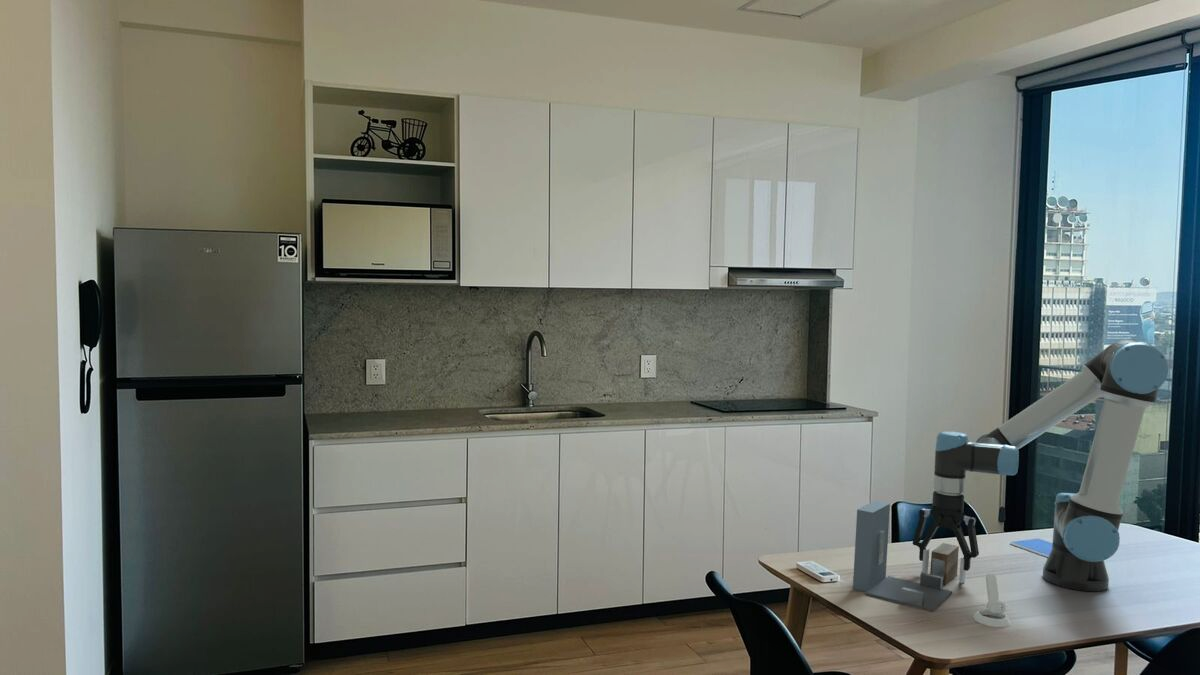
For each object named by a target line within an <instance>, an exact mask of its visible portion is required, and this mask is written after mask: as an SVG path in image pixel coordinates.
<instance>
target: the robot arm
mask: <svg viewBox="0 0 1200 675" xmlns="http://www.w3.org/2000/svg"><path fill="white" fill-rule="evenodd" d="M1081 368H1082V369H1081V371H1079V372H1078V373H1077V374H1075V375H1073V376H1072V377H1071V378H1069V379H1068V380H1066V381H1065V382H1064V383H1062V384H1061V385H1058V386H1057V387H1056V388H1054V389H1053V390H1051V391H1049V393H1047V394H1045V395H1044V396H1042V397H1041V398H1040V399H1038V400H1036V401H1035V402H1033V403H1032V404H1030V405H1029V406H1027V407H1026V408H1025V409H1022V411H1020V412H1019V413H1017V414H1016V415H1014V416H1013V417H1011V418H1010V419H1008V420H1007V421H1005V422H1004V423H1002V424H1001V425H1000V426H998V427H996V428H995V429H993V430H992V431H990V432H989V433H986V434H985V433H983V434H982V435H980V436H979V437H978V438H977V439H976V441H975V442H974V441H970V440H969V436H968V434H966V433H964V432H958V431H941V432H939V433H938V434H937V436H936V443H935V452H934V453H935V454H934V457H935V458H934V475H933V485H932V486H933V487H932V488H933V490H934V491H933V492H932V502H931V503H932V506H931V508H930V509H928V508H925V507H923V508H921V509H920V510H919V511H918V514H919V519H918V523H917V526H916V530H915V533H914V536H913V540H912V545H913V546H916V547H918V548H919V551H918V552H919V555H918V559H919V561H921V562H922V567H921V568H922V569H921V570H922V571H921V573H922V572H923V573H928V574H929V566H930V565H929V564H930V563H929V562H930V547H928V545H929V543H930V542H931V539H932V538H933V537H934V535H935V534H936V532H937V530H938V529H939V528H946V529H949V530H952V531H953V532H952V533H954V535H955V537H956V540H957V542H958V546H959V549H960V550H961V553H962V556H961V557H960V564H959V580H958V581H959V584H964V583H965V581H966V572H967V571H969V570H970V569H971V560H972V559H971V558H973V559H974V558H978V556H979V553H980V552H979V545H978V539H977V538H978V537H977V532H976V522H977V518H976V517H974V516H972V517H971V516H967V515H965V512H964V506H965V495H964V493H965V489H966V473H967V472H970V473H971V472H972V473H974V472H975V473H981V474H992V475H1000V476H1016V475H1017V474H1018V469H1019V463H1020V462H1019V461H1020V460H1019V459H1020V458H1019V456H1020V455H1019V454H1020V452H1019V449H1021V448H1023V447H1025V446H1026V445H1028V444H1029V443H1030V442H1032V441H1033V440H1035V439H1036V438H1038V437H1040V436H1041V435H1043V434H1044V433H1046V432H1047V431H1049V430H1050V429H1052V428H1054V427H1055V426H1057V425H1058V424H1059V423H1061V422H1063V421H1064V420H1066V419H1067V418H1069V417H1071V416H1072V415H1073V414H1075V413H1077V412H1078V411H1080V410H1081V409H1083V408H1085V407H1086V406H1087V405H1089V404H1091V403H1092V402H1094V401H1095V400H1096V399H1097V400H1098V398H1100V397H1101V396H1103V398H1104V401H1103V404H1102V408H1101V412H1100V415H1099V418H1098V422H1097V426H1096V429H1095V433H1094V436H1093V440H1092V444H1091V447H1090V451H1089V455H1088V459H1087V462H1086V466H1085V469H1084V472H1083V476H1082V480H1081V483H1080V488H1079V491H1078V492H1076V493H1075V492H1074V493H1072V492H1059V493H1057V494H1056V497H1055V501H1054V516H1053V517H1054V518H1053V534H1052V543H1053V544H1052V550H1051V552H1050V554H1049V556H1048V558H1047V559H1046V561H1045V563H1044V566H1043V569H1042V578H1043V579H1044V580H1045V581H1047V582H1049V583H1051V584H1053V585H1056V586H1060V587H1062V588H1065V589H1071V590H1076V591H1082V592H1083V591H1084V592H1102V591H1106V590H1107V589H1109V581H1110V578H1109V574H1108V571H1107V568H1106V563H1105V561H1106V560H1108V559H1110V558H1111V557H1113V556H1114V555H1115V554H1116V552H1117V551H1118V549H1119V547H1120V541H1121V540H1120V538H1121V537H1120V532H1119V529H1120V525H1121V521H1122V520H1123V519H1122V518H1123V514H1124V510H1123V509H1122V507H1121V506H1120V504H1119V502H1120V498H1121V495H1122V491H1123V488H1124V484H1125V480H1126V477H1127V473H1128V470H1129V467H1130V464H1131V463H1130V462H1131V459H1132V456H1133V453H1134V448H1135V445H1136V442H1137V438H1138V435H1139V430H1140V428H1141V424H1142V420H1143V417H1144V413H1145V410H1146V409H1147V408H1148V407H1150V406H1152V405H1154V404H1155V402H1156V399H1157V395H1158V392H1159V389H1160V388H1161V387H1162V386H1163V384H1165V382H1166V381H1167V378H1168V375H1169V363H1168V361H1167V358H1166V357H1165V355H1164V354H1163V353H1162V351H1161V350H1159V349H1158V347H1157V346H1154V345H1153V344H1151V343H1148V342H1144V341H1138V340H1135V339H1121V340H1117V341H1115V342H1113V343H1111V344H1110V345H1108V346H1107V347H1106V348H1104V349H1103V350H1102V351H1100V352H1099V353H1098V354H1097V355H1096V356H1094V357H1093V358H1092V359H1090V360H1088V361H1087V362H1086V363H1083V365H1082V367H1081ZM930 515H931V518H932V519H933V520H934V521H933V523H932V524H931V526H930V528H929V530H928V532H927V533H926V534H925V536H924V537H923V539H922V536H923V533H924V529H925V526H926V522H927V518H928V517H929V516H930ZM963 521H964V522H965V523H964V524H965V525H966V526H967V527H966V528H967V535H968V542H969V545H968V542H967V540H966V537H965V535H964V532H963V529H962V525H961V523H962V522H963ZM921 539H922V541H921Z"/></svg>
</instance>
